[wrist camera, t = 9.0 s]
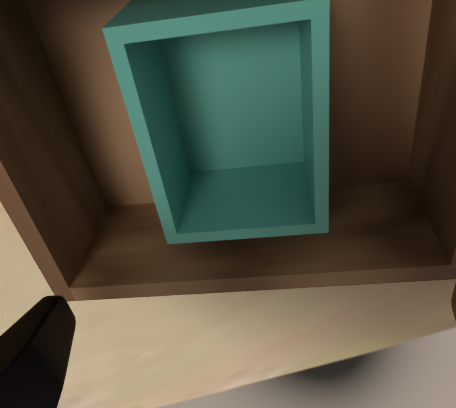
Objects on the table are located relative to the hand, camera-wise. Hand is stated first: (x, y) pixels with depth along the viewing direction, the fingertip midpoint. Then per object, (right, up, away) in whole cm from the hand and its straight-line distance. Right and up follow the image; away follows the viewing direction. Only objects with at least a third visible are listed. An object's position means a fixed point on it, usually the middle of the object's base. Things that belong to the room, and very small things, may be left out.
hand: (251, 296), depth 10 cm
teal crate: (0, +7, +9) cm, 11 cm away
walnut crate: (0, +8, +9) cm, 12 cm away
